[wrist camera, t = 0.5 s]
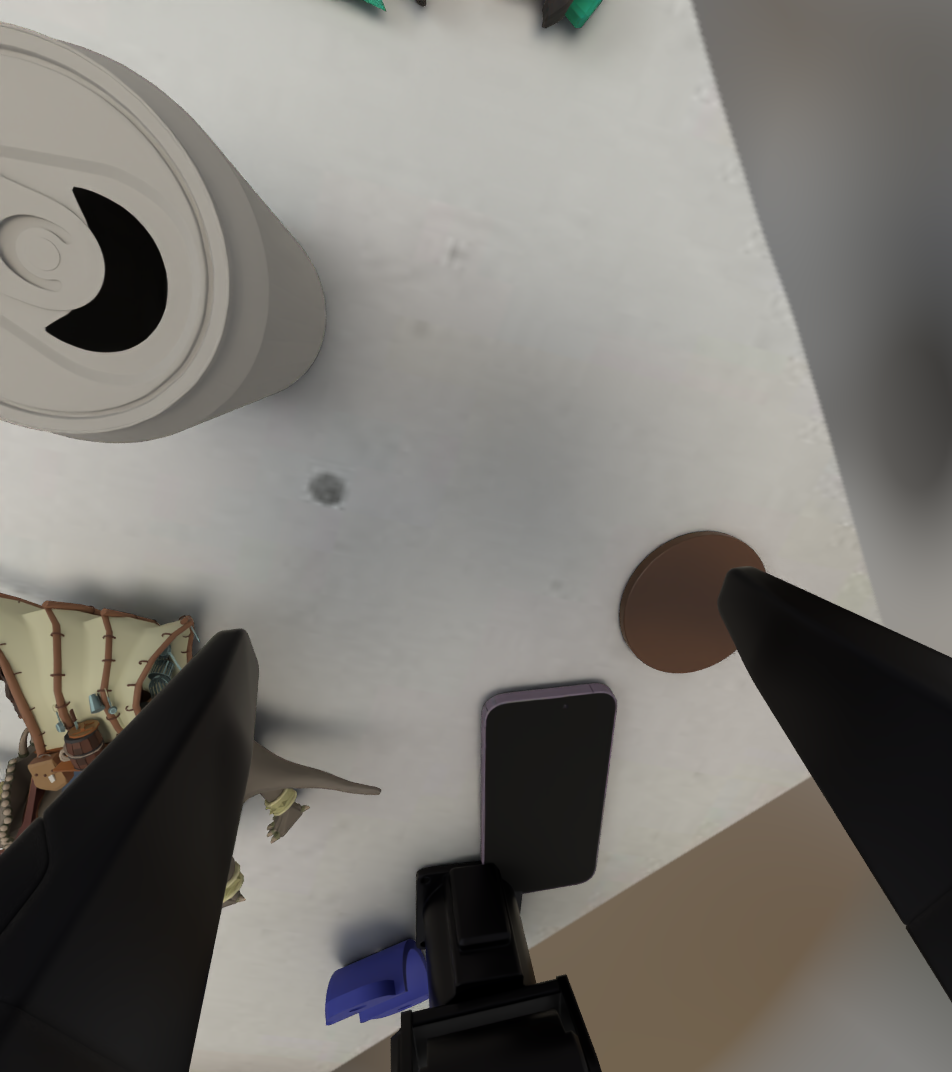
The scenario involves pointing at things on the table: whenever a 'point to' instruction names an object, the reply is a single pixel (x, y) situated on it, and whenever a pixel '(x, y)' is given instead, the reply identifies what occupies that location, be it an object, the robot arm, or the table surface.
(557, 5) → the knife
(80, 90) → the beverage can
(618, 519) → the table surface
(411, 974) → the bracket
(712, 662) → the coaster
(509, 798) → the smartphone
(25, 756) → the figurine
